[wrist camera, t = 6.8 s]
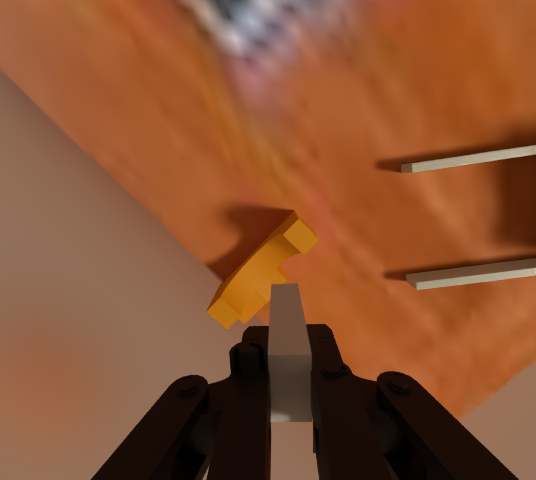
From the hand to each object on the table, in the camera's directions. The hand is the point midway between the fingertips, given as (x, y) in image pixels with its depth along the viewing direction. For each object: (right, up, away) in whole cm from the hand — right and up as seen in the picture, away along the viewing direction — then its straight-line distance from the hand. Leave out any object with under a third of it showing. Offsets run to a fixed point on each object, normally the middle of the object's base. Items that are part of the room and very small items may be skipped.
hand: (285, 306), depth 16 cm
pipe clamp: (-1, +1, +16) cm, 16 cm away
